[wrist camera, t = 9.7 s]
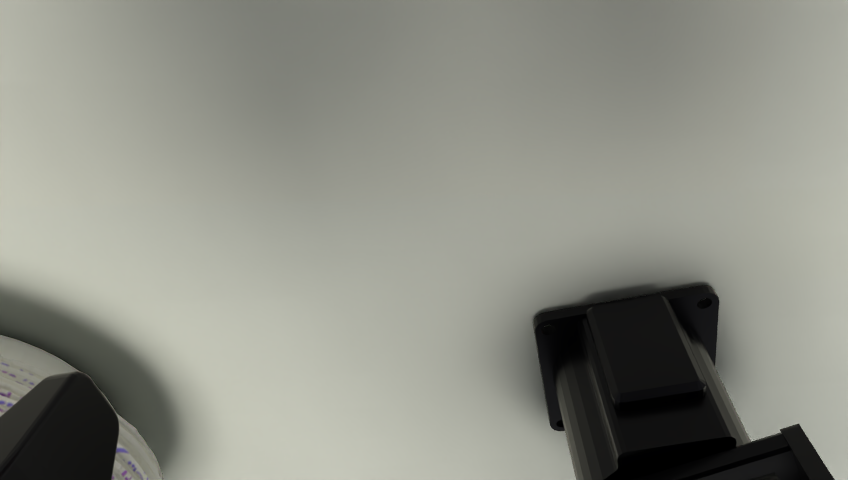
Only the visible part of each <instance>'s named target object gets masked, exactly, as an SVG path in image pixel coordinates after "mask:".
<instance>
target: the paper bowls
mask: <svg viewBox="0 0 848 480" xmlns="http://www.w3.org/2000/svg"><path fill="white" fill-rule="evenodd" d="M74 371H78V370H77V369H75V368H74V367H72V366H71V365H69V364H68V363H66V362H65V361H63V360H61V359H60V358H58V357H56V356H54V355H52V354H50V353H48V352H46V351H44V350H42V349H40V348H37V347H35V346H32V345H30V344H27V343H25V342H22V341H19V340H17V339H13V338H10V337H6V336H3V335H0V416H2V415H3V414H4V413H5V412H6V411H7V410H8V409H10V408H11V407H12V406H13V405H14V404H15V403H16V402H18V401H19V400H20V399H21V398H22V397H23V396H25V395H26V394H27V393H28V392H29V391H30V390H31V389H33V388H34V387H35V386H36V385H37V384H38V383H39V382H41V381H42V380H43V379H44V378H46V377H48V376H51V375H55V374H62V373H68V372H74ZM102 394H103V393H102ZM103 395H104V394H103ZM104 396H105V395H104ZM105 398H106V396H105ZM106 399H107V398H106ZM107 401H108V399H107ZM108 402H109V401H108ZM109 403H110V402H109ZM110 405H111V403H110ZM111 406H112V405H111ZM112 407H113V406H112ZM113 409H114V408H113ZM115 412H116V411H115ZM116 414H117V413H116ZM117 417H118V421H119V437H118V444H117V450H116V456H115V463H114V469H113V475H112V480H164V479H163V473H162V471H161V469H160V466H159V464H158V461H157V459H156V457H155V455H154V453H153V452H152V450H151V449H150V448H149V447H148V446H147V444H146V441H145V440H144V439H143V437H142V436H141V435H140V434H139V433H138V431H137V429H136V428H135V427H134V426H132V425H131V424H129V423H128V422H127V421H126V420H125V419H123V418H122V417H121V416H119V415H118V414H117Z"/></svg>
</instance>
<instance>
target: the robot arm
mask: <svg viewBox="0 0 848 480" xmlns="http://www.w3.org/2000/svg"><path fill="white" fill-rule="evenodd" d="M704 298H705V299H704ZM701 299H704V300H702V301H700V300H701ZM718 310H719V298H718V296H717V294H716V292H715V290H714V289H713V288H712V287H710V286H707V285H701V286H695V287H689V288H684V289H678V290H672V291H666V292H661V293H655V294H649V295H643V296H638V297H632V298H626V299H620V300H615V301H609V302H603V303H597V304H592V305H586V306H580V307H574V308H569V309H563V310H557V311H552V312H546V313H542V314H540V315H538V316H537V317H536V318H535V319H534V321H533V327H534V333H535V339H536V345H537V351H538V357H539V363H540V369H541V375H542V381H543V387H544V393H545V399H546V405H547V411H548V417H549V421H550V426H551V428H552V429H554V430H557V431H565V433H566V437H567V441H568V446H569V450H570V454H571V459H572V463H573V467H574V472H575V476H576V480H834V478H833V477H832V475H831V474H830V472H829V470H828V469H827V467H826V466H825V464H824V463H823V461H822V460H821V458H820V456H819V455H818V453H817V452H816V450H815V449H814V447H813V445H812V444H811V442H810V441H809V439H808V438H807V436H806V434H805V433H804V431H803V430H802V428H801V427H800V425H799V424H796V425H793V426H790V427H786V428H783V429H780V431H781V433H778V434H775V435H772V436H768V437H765V438H762V439H759V440H756V441H752V442H751V441H750V439H749V437H748V435H747V433H746V431H745V428H744V426H743V424H742V422H741V420H740V418H739V416H738V414H737V412H736V410H735V408H734V406H733V404H732V402H731V400H730V397H729V395H728V393H727V391H726V389H725V387H724V385H723V383H722V381H721V379H720V377H719V375H718V373H717V371H716V369H715V356H716V341H717V325H718ZM547 325H551V326H550V327H544V326H547ZM118 437H119V421H118V417H117V414H116V412H115V410H114V409H113V407H112V406H111V405H110V403H109V402H108V401H107V399H106V398H105V396H104V395H103V394H102V392H101V391H100V390H99V388H98V387H97V386H96V384H95V383H94V381H93V380H92V379H91V377H90V376H89V375H87V374H85V373H84V372H80V371H74V372H68V373H62V374H55V375H51V376H48V377H46V378H44V379H43V380H42V381H41V382H39V383H38V384H37V385H36V386H35V387H34V388H33V389H31V390H30V391H29V392H28V393H27V394H26V395H25V396H23V397H22V398H21V399H20V400H19V401H18V402H16V403H15V404H14V405H13V406H12V407H11V408H10V409H8V410H7V411H6V412H5V413H4V414H3V415H2V416H0V480H112V475H113V469H114V463H115V456H116V450H117V444H118Z"/></svg>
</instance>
